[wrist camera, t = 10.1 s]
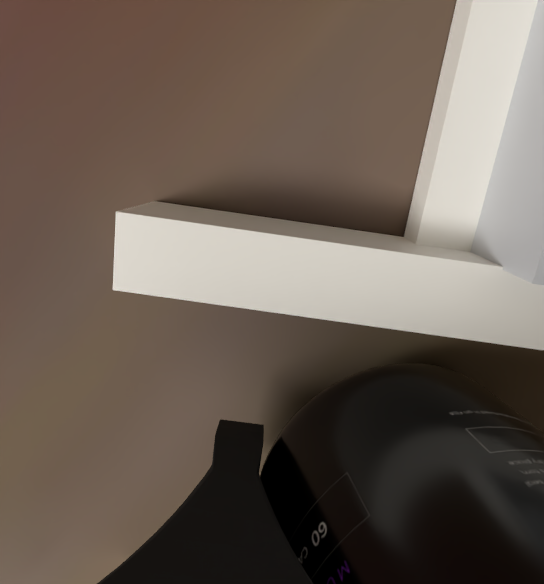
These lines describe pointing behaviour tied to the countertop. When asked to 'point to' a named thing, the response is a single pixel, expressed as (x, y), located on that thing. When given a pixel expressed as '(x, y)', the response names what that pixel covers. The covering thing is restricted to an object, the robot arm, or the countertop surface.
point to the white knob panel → (420, 225)
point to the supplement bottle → (410, 482)
